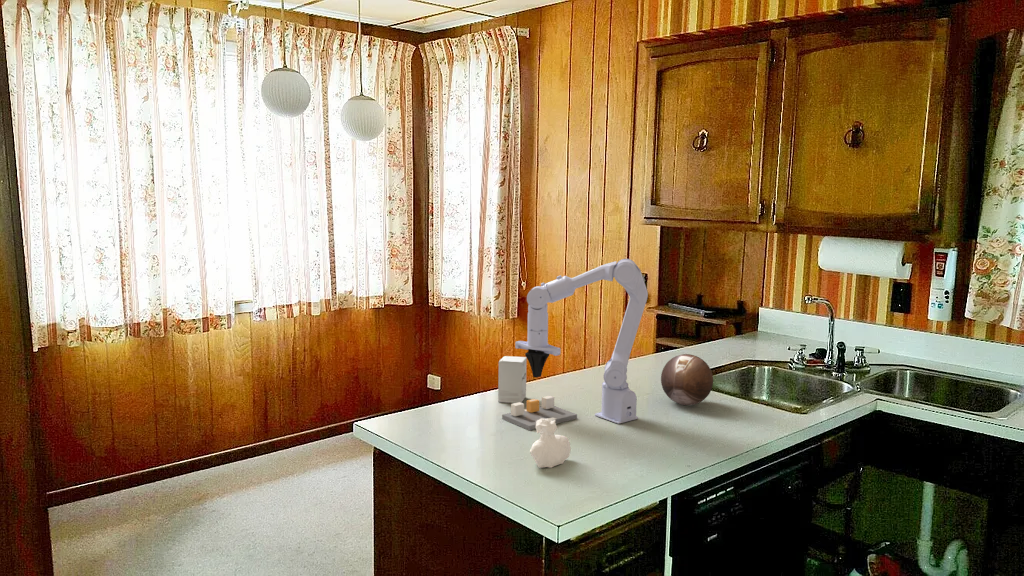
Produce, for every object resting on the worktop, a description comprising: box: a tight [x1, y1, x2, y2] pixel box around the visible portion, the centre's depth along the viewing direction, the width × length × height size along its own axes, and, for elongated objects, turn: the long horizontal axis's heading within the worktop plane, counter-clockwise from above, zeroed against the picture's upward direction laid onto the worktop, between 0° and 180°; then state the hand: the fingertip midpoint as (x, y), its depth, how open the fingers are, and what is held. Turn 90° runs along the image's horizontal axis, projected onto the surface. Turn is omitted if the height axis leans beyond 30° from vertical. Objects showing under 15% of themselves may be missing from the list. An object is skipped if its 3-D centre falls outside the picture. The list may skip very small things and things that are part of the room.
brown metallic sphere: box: [660, 353, 714, 406], centre depth 215 cm, size 15×15×15 cm
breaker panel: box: [501, 395, 578, 431], centre depth 201 cm, size 12×17×4 cm
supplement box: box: [497, 355, 528, 404], centre depth 219 cm, size 7×7×13 cm
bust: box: [529, 418, 572, 469], centre depth 169 cm, size 12×8×11 cm
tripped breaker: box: [525, 398, 540, 413], centre depth 204 cm, size 2×3×3 cm, turn 128°
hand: (537, 376), depth 206 cm, fingers closed
